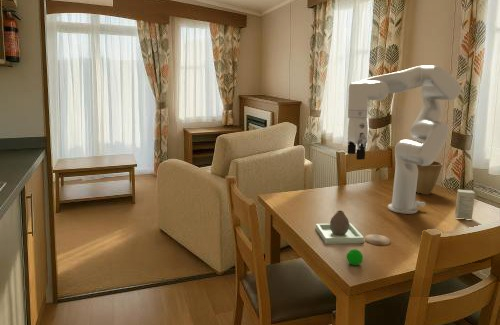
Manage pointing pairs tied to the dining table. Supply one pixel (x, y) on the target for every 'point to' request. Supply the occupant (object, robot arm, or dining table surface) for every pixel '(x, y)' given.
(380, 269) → the dining table surface
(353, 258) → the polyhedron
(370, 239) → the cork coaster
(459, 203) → the skincare box
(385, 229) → the dining table surface
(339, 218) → the vase
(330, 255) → the dining table surface
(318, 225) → the tray
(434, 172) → the plant pot
